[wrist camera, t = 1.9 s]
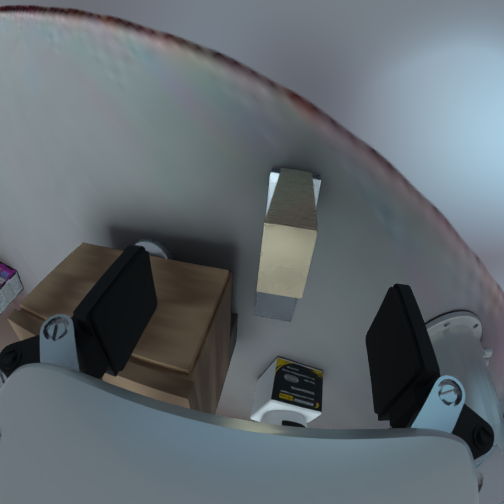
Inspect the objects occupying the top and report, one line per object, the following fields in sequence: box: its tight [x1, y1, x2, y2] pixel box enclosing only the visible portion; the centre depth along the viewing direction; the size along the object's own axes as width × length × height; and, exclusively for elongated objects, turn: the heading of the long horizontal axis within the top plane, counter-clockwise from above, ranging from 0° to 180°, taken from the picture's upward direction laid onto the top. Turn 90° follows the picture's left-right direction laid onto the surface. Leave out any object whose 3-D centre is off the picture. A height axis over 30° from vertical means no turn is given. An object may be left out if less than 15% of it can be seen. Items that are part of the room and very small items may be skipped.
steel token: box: [135, 238, 173, 260], centre depth 29 cm, size 5×5×2 cm
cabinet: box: [7, 243, 238, 415], centre depth 24 cm, size 17×16×16 cm
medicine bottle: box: [250, 357, 323, 428], centre depth 32 cm, size 7×7×12 cm
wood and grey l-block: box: [254, 168, 321, 322], centre depth 21 cm, size 4×16×12 cm, turn 176°
